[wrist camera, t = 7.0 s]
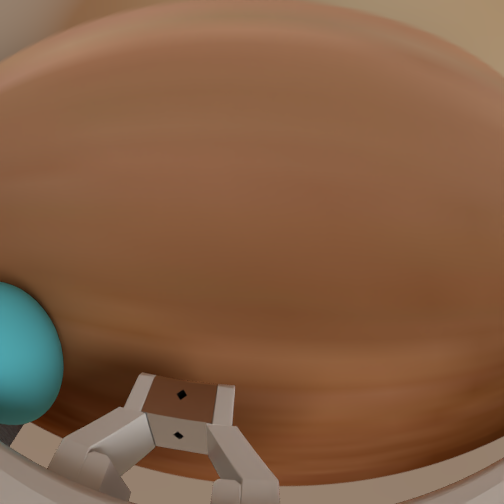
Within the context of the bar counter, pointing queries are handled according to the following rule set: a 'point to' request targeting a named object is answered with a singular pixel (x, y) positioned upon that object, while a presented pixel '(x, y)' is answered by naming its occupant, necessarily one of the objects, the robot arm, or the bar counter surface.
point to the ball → (27, 358)
